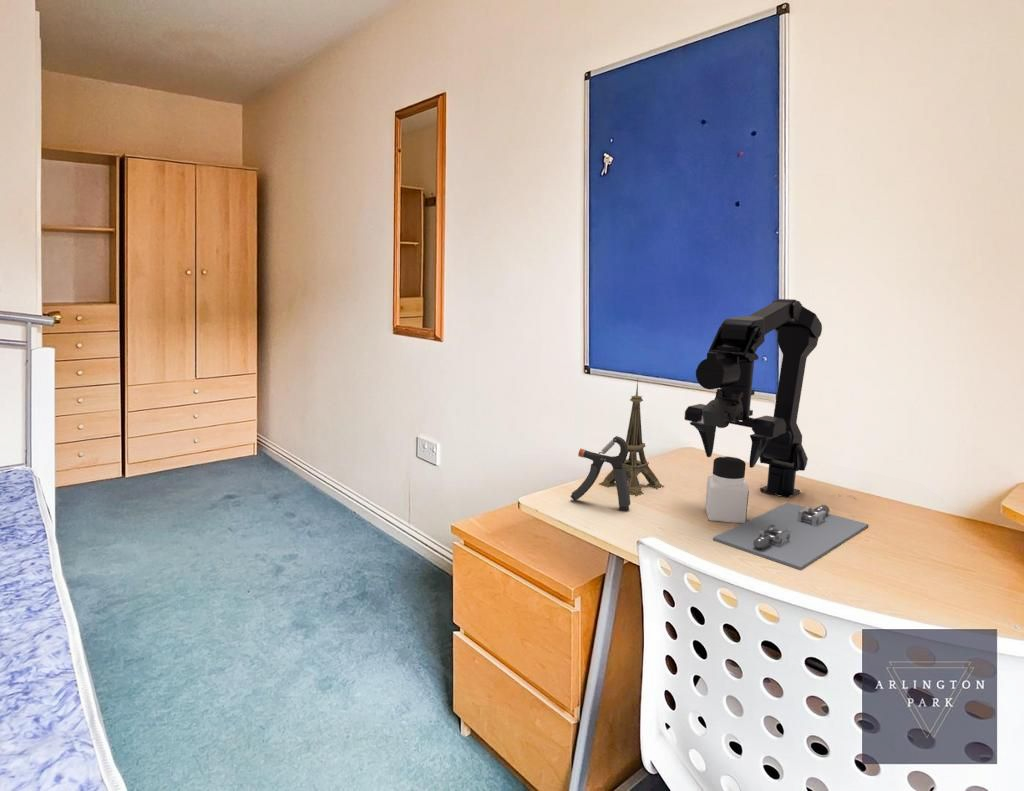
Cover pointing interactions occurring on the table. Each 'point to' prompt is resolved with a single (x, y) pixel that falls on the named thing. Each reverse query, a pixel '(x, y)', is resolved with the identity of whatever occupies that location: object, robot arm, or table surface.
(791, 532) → the rubber mat
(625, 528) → the table surface
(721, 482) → the medicine bottle
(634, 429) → the eiffel tower
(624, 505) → the hand grip strengthener
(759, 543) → the chain ends
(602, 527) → the table surface
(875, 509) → the table surface
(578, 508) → the table surface
